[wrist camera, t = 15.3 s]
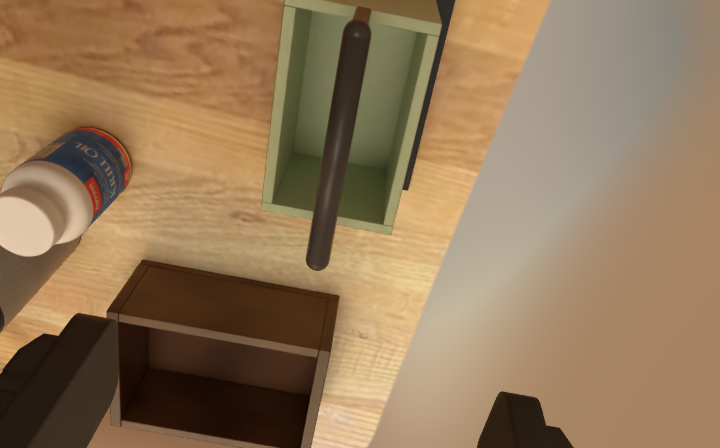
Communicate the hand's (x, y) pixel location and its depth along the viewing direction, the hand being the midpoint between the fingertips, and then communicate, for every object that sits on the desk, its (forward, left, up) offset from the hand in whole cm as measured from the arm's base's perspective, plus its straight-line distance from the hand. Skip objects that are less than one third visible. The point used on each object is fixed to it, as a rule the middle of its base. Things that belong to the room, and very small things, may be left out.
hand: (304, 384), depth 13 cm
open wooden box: (-7, -25, -29) cm, 39 cm away
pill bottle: (-18, -12, -29) cm, 36 cm away
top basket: (-1, -2, -29) cm, 29 cm away
